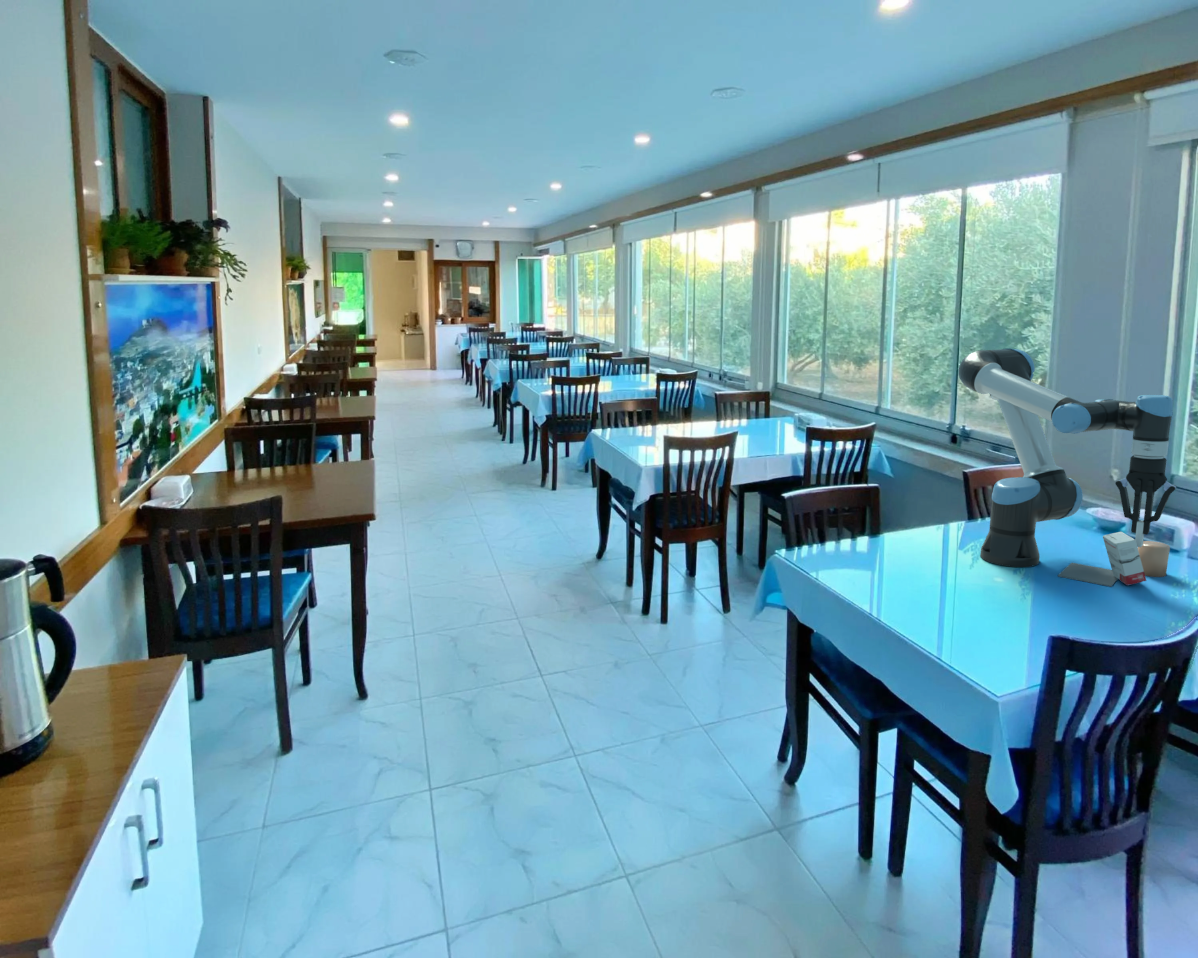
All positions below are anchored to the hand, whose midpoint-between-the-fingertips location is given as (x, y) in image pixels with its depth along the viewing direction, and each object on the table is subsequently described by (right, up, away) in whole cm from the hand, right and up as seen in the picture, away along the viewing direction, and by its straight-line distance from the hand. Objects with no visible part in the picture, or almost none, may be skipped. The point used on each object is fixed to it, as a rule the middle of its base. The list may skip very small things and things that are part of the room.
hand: (1138, 545), depth 200 cm
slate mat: (-7, -9, +9) cm, 14 cm away
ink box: (0, -9, +3) cm, 10 cm away
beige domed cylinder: (+10, -8, +10) cm, 16 cm away
